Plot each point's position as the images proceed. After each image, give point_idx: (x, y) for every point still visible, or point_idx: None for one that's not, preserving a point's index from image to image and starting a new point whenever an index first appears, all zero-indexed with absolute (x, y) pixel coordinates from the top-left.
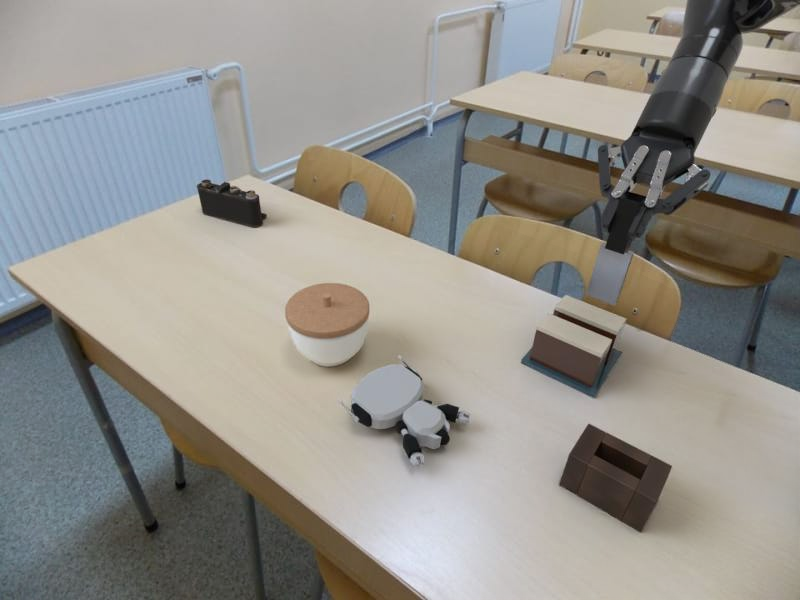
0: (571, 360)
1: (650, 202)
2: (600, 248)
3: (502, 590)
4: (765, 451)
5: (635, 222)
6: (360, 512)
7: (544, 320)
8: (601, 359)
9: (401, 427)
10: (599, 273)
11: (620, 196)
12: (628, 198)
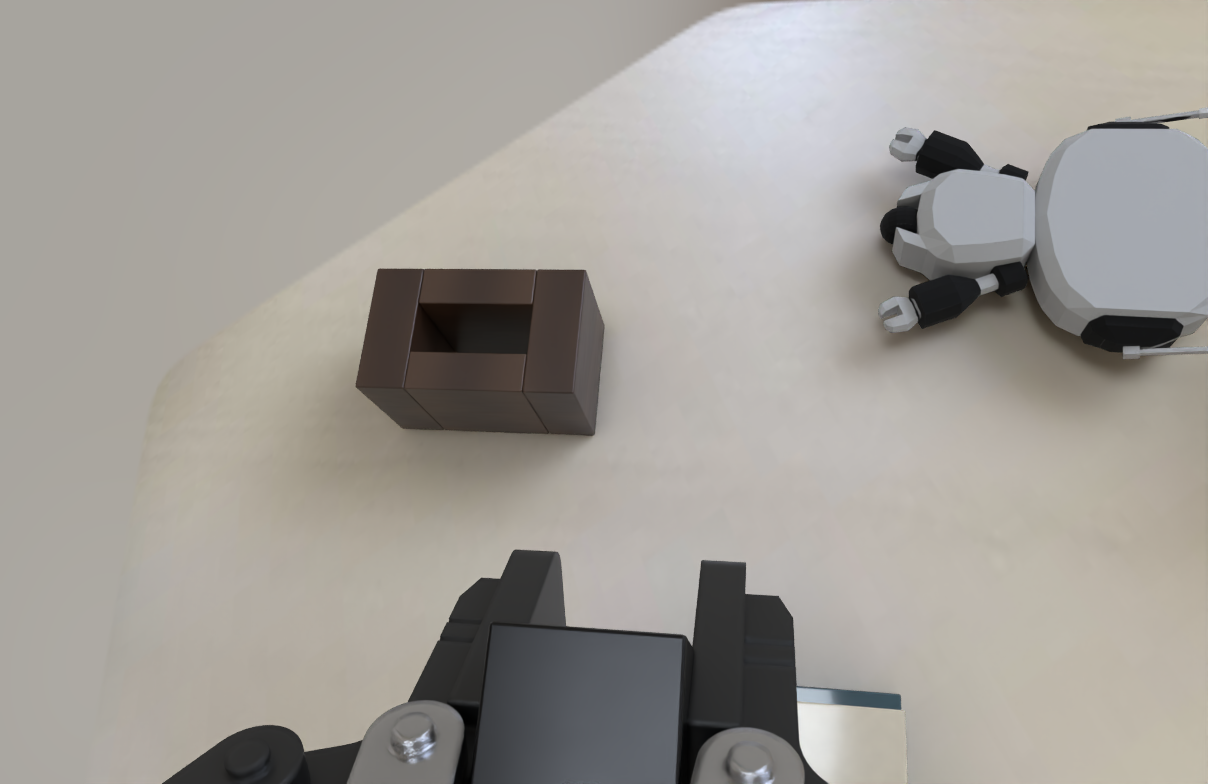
0: None
1: (412, 723)
2: None
3: (615, 80)
4: (152, 753)
5: (517, 601)
6: (927, 33)
7: (896, 765)
8: None
9: (1004, 167)
10: None
11: (702, 746)
12: (608, 662)
